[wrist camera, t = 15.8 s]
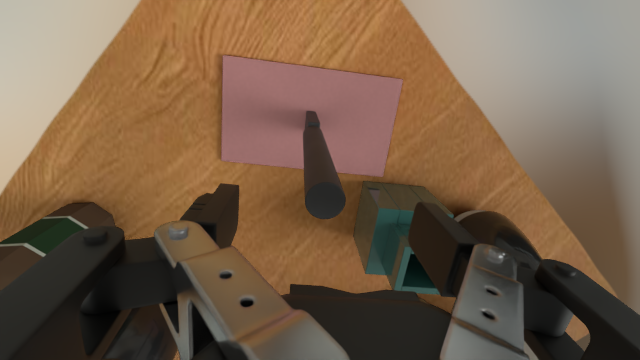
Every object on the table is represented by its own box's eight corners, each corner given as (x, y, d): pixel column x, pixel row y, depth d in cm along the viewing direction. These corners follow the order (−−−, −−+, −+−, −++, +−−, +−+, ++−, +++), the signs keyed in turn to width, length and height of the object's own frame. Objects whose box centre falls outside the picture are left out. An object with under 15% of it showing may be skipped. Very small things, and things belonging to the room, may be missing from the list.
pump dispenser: (463, 269, 48) (531, 352, 34) (419, 236, 46) (474, 311, 31) (512, 225, 46) (607, 294, 32) (469, 187, 43) (551, 244, 29)
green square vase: (353, 236, 45) (374, 304, 32) (363, 180, 42) (391, 230, 29) (409, 240, 46) (453, 308, 33) (424, 186, 43) (478, 237, 30)
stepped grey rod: (301, 130, 38) (302, 223, 15) (303, 109, 37) (308, 174, 14) (316, 132, 38) (341, 226, 15) (319, 111, 38) (349, 178, 14)
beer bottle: (95, 190, 40) (-170, 344, 17) (131, 235, 43) (-60, 420, 20) (47, 213, 41) (-267, 388, 18) (85, 256, 43) (-148, 456, 21)
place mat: (222, 159, 40) (221, 160, 39) (223, 55, 35) (222, 54, 35) (381, 175, 42) (382, 177, 41) (401, 79, 37) (403, 79, 37)
